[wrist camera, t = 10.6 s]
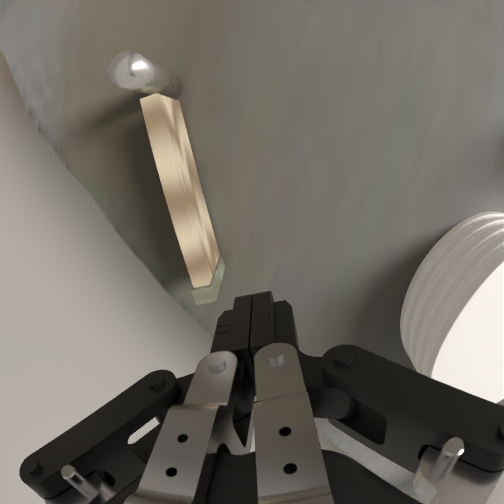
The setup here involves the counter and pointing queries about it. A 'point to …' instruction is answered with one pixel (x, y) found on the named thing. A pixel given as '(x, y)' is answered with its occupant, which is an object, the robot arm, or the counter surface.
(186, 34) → the counter surface
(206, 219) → the gate
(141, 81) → the hinge post
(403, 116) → the counter surface
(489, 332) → the plate stack
